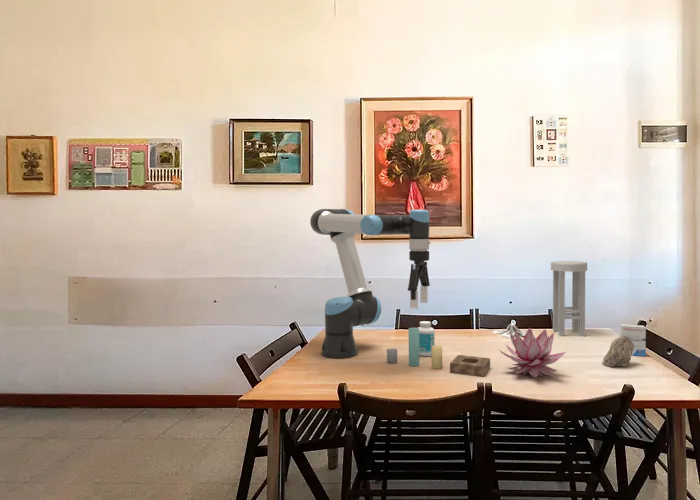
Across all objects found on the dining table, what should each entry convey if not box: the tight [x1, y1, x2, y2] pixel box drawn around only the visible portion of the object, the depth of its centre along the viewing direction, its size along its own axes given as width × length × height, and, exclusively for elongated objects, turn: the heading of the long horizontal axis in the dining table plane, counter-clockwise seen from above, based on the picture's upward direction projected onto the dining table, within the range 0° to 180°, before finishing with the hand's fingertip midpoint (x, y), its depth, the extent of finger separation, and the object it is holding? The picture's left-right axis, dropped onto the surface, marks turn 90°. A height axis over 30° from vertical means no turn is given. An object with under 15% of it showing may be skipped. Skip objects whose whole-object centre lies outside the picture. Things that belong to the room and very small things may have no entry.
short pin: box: [386, 348, 398, 365], centre depth 184 cm, size 4×4×5 cm
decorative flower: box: [498, 327, 566, 378], centre depth 167 cm, size 21×21×15 cm
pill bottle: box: [417, 320, 435, 357], centre depth 195 cm, size 8×7×14 cm
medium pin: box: [430, 344, 443, 370], centre depth 176 cm, size 4×4×8 cm
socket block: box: [449, 354, 491, 378], centre depth 173 cm, size 12×12×4 cm
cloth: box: [492, 322, 536, 339], centre depth 231 cm, size 22×19×6 cm
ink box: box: [619, 323, 647, 357], centre depth 190 cm, size 8×5×12 cm, turn 65°
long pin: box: [408, 327, 420, 367], centre depth 180 cm, size 4×4×14 cm
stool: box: [550, 260, 588, 337], centre depth 228 cm, size 16×16×35 cm
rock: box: [601, 336, 634, 368], centre depth 176 cm, size 14×10×8 cm
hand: (419, 305), depth 181 cm, fingers open, 13 cm apart
